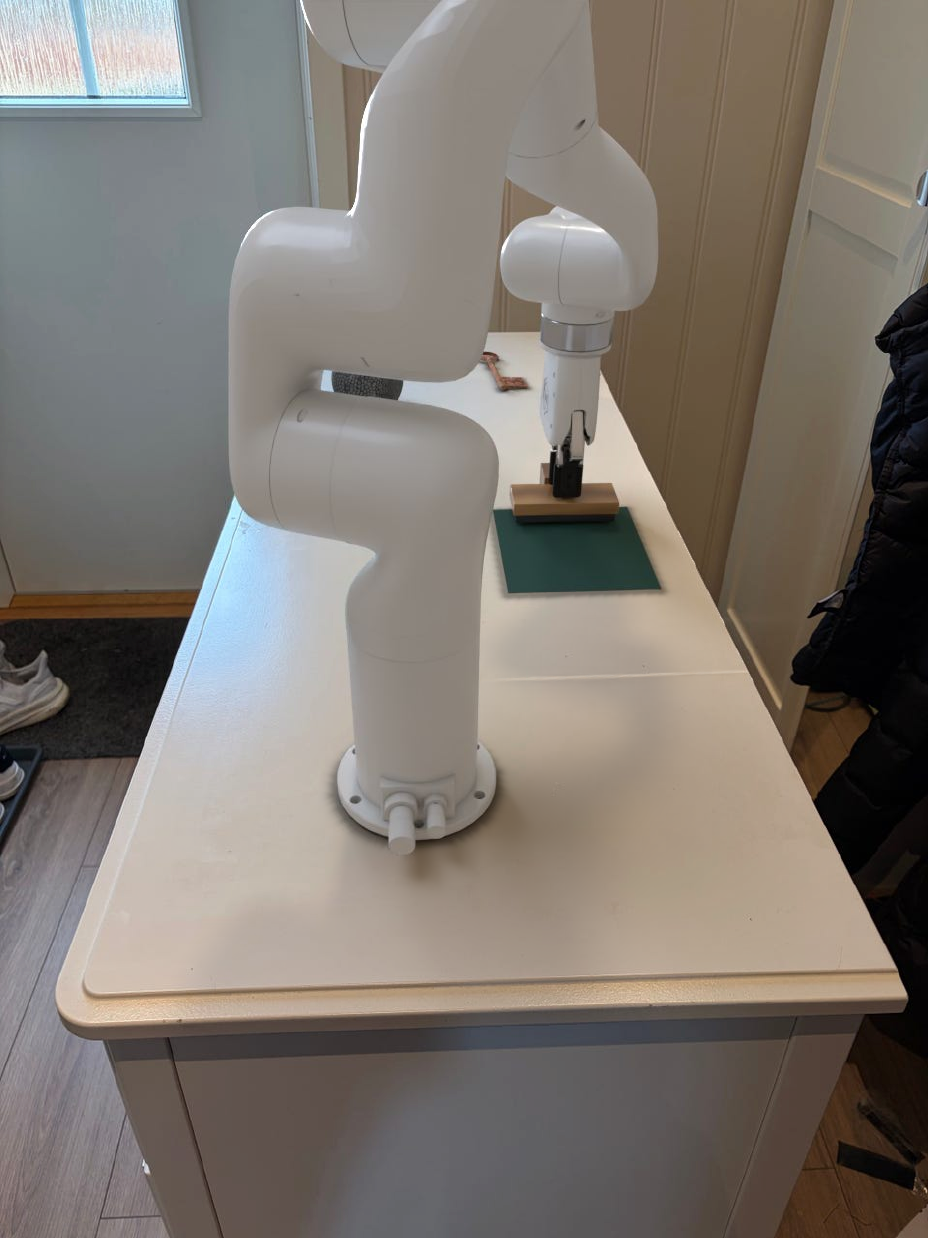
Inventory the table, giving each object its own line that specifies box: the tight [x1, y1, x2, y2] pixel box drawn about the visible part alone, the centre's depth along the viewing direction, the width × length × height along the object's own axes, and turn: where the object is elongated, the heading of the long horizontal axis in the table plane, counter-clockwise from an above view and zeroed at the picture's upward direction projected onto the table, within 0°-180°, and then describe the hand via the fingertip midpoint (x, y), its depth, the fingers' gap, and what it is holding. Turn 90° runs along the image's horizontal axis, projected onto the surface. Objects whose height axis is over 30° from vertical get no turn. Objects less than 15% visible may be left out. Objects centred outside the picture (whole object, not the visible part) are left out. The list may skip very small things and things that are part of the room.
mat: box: [492, 506, 662, 594], centre depth 109 cm, size 18×16×1 cm
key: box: [480, 351, 528, 391], centre depth 153 cm, size 6×1×15 cm
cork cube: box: [539, 462, 550, 484], centre depth 118 cm, size 4×4×4 cm
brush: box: [509, 445, 620, 523], centre depth 112 cm, size 5×12×8 cm, turn 93°
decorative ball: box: [330, 371, 404, 401], centre depth 137 cm, size 10×10×10 cm
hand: (564, 488), depth 113 cm, fingers closed on brush, 2 cm apart
